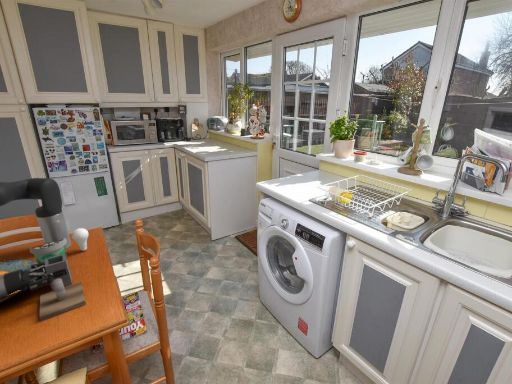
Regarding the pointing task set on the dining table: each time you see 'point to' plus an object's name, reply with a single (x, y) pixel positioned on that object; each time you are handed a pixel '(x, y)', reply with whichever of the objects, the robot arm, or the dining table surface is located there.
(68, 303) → the post stand
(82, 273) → the dining table surface
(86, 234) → the lightbulb
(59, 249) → the food container
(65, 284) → the sleeve
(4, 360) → the dining table surface
